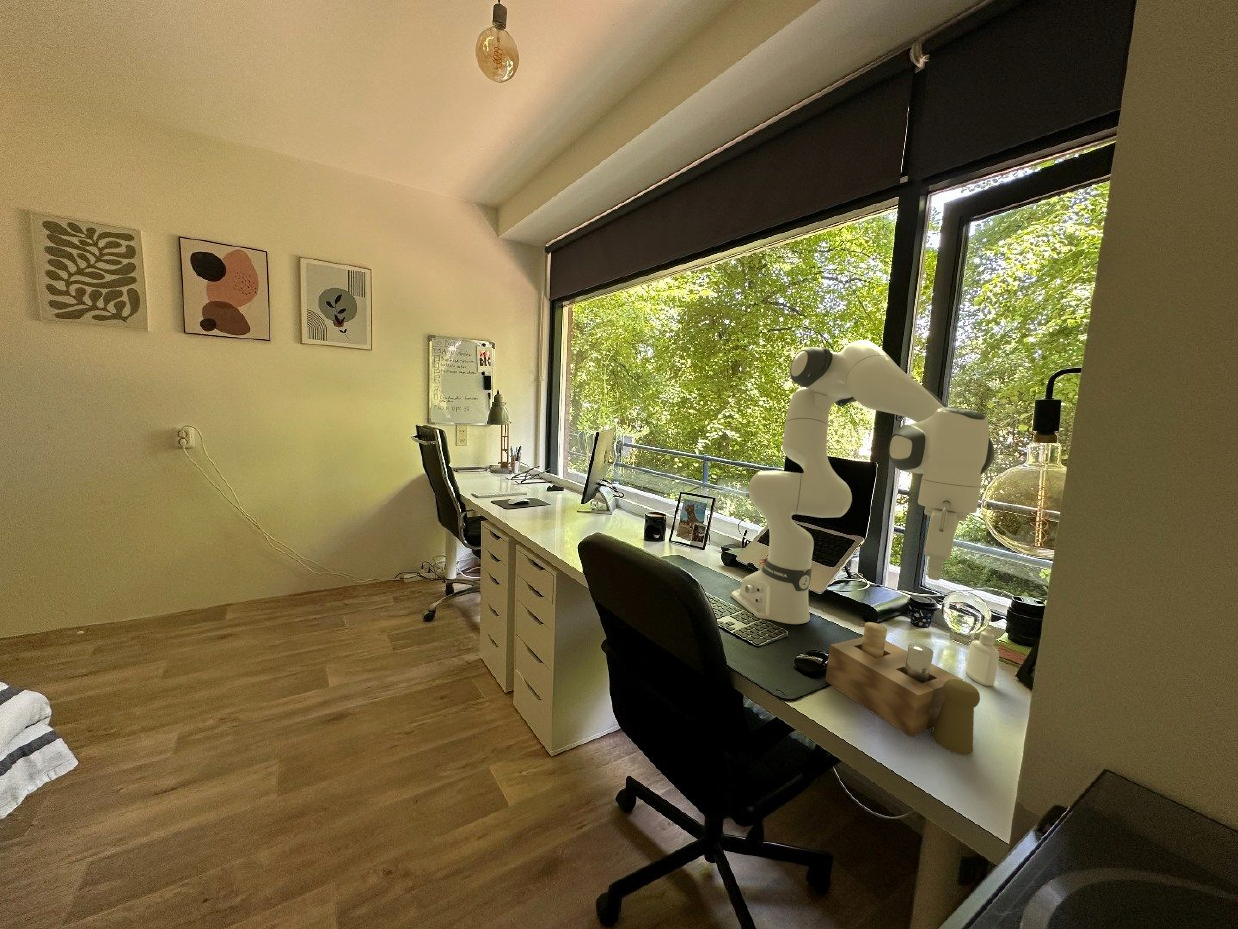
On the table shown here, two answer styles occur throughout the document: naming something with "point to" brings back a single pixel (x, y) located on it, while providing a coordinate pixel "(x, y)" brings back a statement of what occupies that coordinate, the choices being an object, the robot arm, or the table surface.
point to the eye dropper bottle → (983, 659)
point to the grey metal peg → (918, 662)
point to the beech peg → (874, 639)
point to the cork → (956, 717)
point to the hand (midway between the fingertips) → (934, 572)
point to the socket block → (887, 685)
